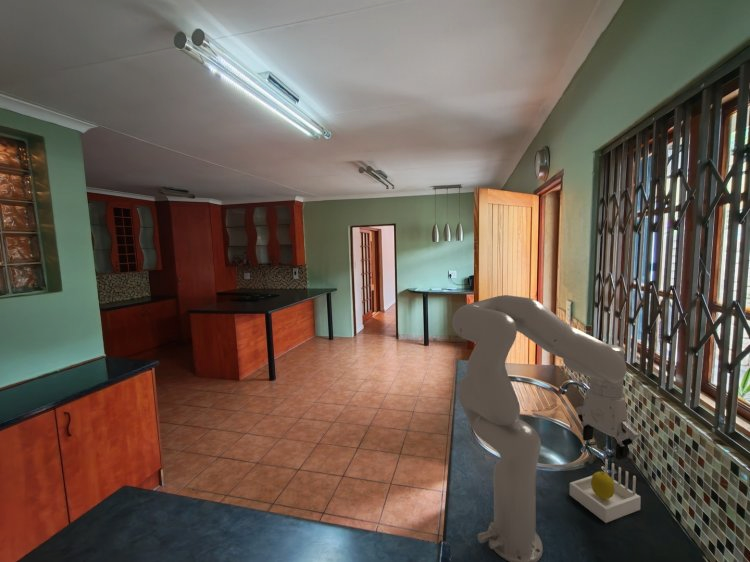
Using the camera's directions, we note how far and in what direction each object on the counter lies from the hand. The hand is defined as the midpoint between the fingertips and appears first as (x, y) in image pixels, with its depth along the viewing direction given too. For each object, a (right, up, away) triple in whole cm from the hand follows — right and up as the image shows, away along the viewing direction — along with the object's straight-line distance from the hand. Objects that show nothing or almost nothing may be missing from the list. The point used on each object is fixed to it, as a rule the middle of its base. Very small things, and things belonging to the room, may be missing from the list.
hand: (603, 448), depth 94 cm
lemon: (+1, -15, +2) cm, 16 cm away
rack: (+1, -16, +1) cm, 16 cm away
